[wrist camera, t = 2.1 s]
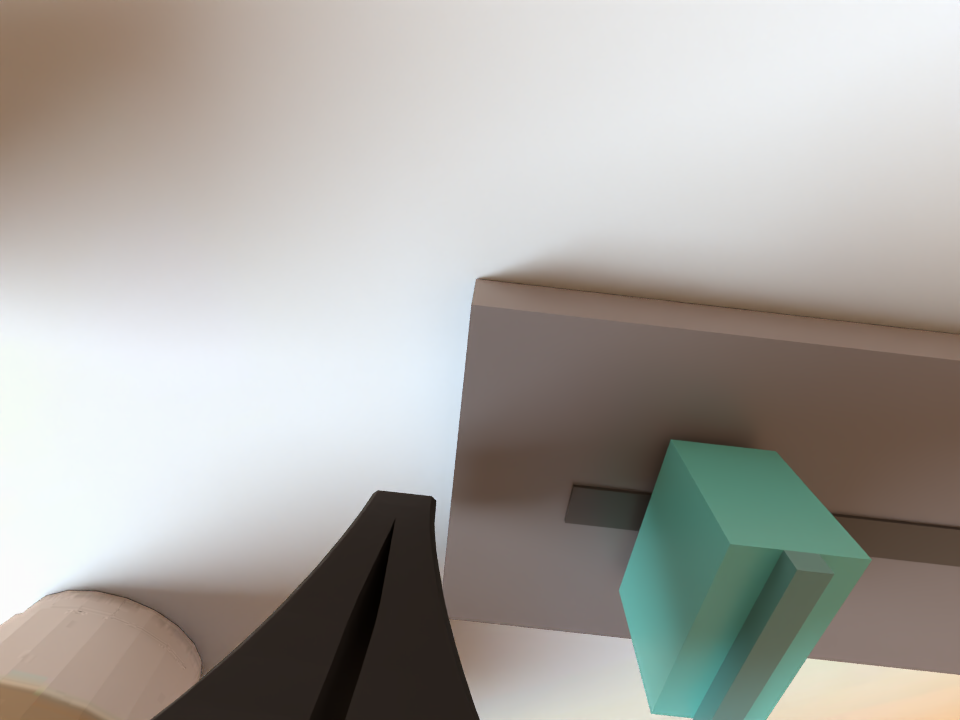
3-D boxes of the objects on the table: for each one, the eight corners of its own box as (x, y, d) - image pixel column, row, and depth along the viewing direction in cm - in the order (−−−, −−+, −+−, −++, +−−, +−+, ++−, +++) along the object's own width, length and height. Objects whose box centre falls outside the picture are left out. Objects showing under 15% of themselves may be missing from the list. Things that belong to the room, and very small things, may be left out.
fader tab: (706, 600, 13) (772, 748, 10) (618, 590, 13) (656, 735, 10) (775, 450, 10) (889, 580, 7) (670, 439, 10) (740, 563, 7)
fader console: (1136, 639, 16) (1221, 706, 14) (446, 563, 16) (439, 620, 14) (1419, 387, 12) (1598, 435, 10) (475, 279, 11) (470, 305, 10)
